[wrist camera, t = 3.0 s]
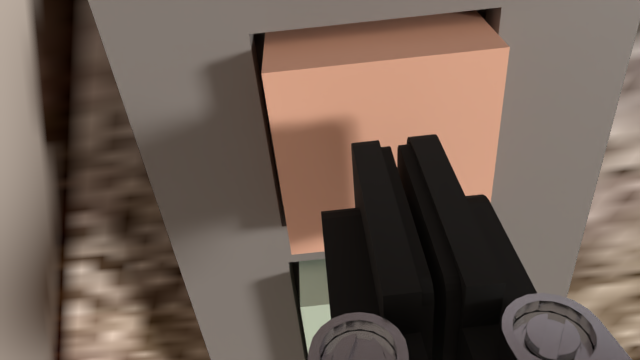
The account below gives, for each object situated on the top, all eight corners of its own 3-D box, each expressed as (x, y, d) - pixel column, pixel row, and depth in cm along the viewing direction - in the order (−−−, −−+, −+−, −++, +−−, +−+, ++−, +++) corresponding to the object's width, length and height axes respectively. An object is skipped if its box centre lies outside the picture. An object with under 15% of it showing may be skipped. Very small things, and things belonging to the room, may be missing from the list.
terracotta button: (460, 178, 16) (486, 235, 13) (291, 195, 16) (291, 254, 14) (473, 8, 13) (510, 47, 11) (265, 30, 13) (261, 73, 11)
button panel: (497, 393, 26) (522, 464, 24) (258, 417, 27) (255, 490, 24) (584, -95, 14) (662, -68, 11) (127, -44, 14) (86, -6, 11)
